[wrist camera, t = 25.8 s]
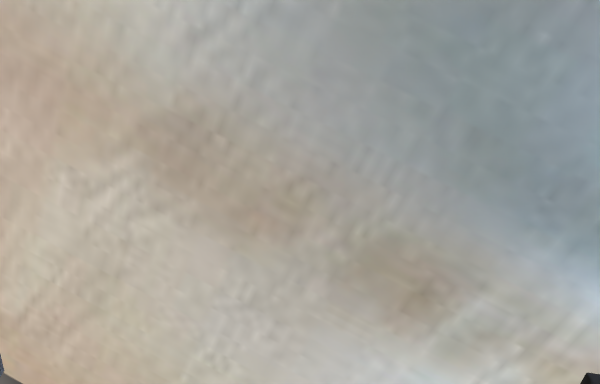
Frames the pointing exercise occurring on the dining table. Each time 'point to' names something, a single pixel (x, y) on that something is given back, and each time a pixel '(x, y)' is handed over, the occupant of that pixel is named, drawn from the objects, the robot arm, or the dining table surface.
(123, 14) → the dining table surface
